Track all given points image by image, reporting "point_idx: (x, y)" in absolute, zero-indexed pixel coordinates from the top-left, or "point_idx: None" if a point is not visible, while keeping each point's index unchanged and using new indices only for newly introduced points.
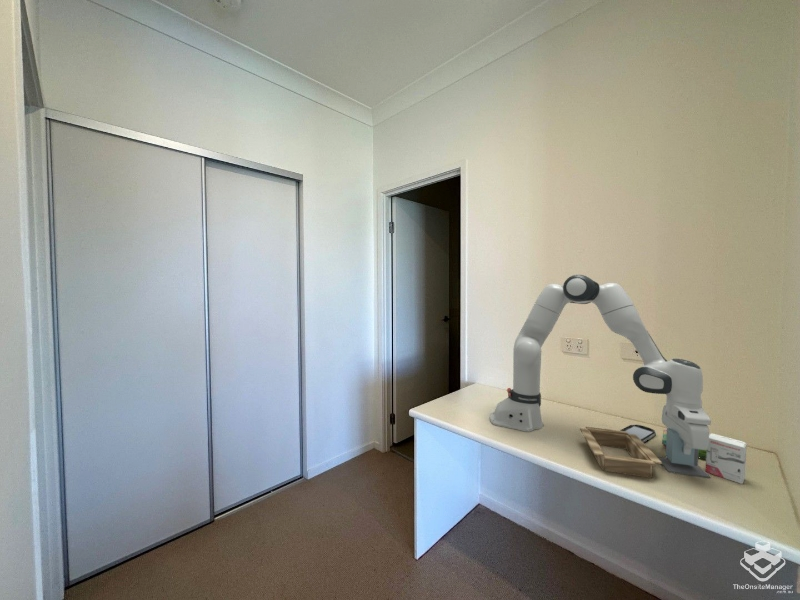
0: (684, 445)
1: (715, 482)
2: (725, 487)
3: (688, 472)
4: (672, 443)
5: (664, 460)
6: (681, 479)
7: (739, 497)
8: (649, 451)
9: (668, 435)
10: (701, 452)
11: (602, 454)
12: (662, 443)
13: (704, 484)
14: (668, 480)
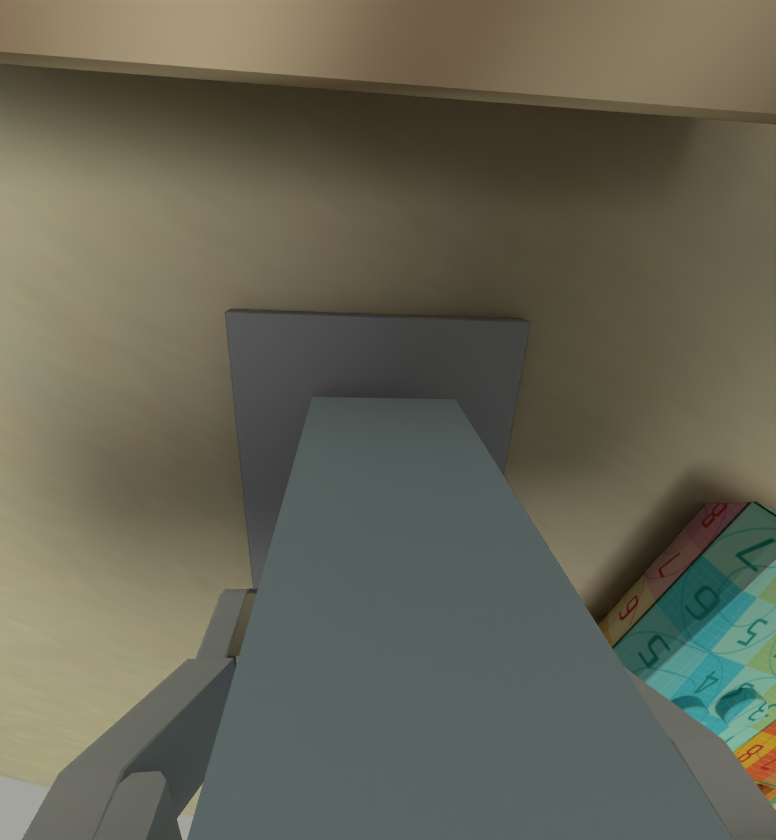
0: (143, 728)
1: (205, 595)
2: (153, 620)
3: (258, 481)
4: (277, 561)
5: (452, 376)
6: (125, 369)
7: (39, 636)
8: (182, 2)
9: (508, 655)
10: None
11: None
12: (755, 503)
13: (126, 513)
14: (22, 216)
